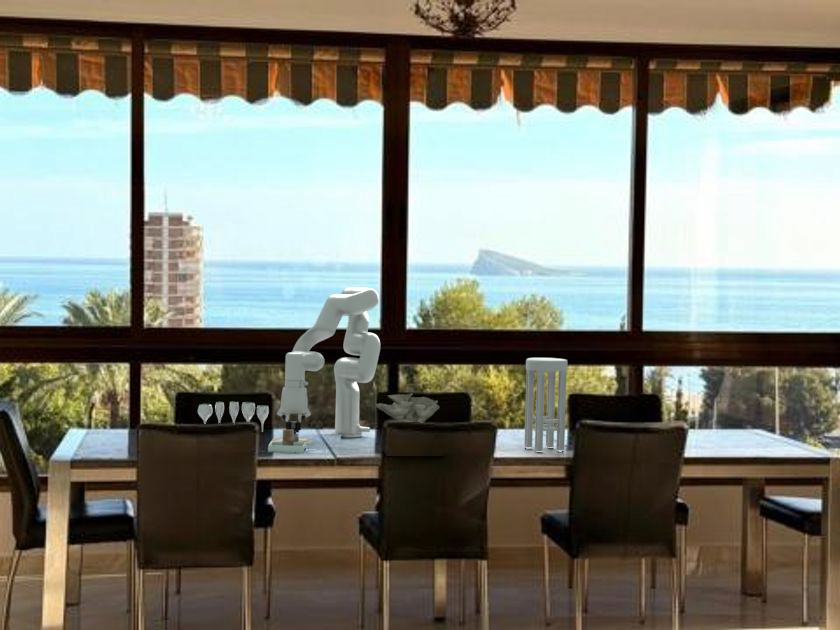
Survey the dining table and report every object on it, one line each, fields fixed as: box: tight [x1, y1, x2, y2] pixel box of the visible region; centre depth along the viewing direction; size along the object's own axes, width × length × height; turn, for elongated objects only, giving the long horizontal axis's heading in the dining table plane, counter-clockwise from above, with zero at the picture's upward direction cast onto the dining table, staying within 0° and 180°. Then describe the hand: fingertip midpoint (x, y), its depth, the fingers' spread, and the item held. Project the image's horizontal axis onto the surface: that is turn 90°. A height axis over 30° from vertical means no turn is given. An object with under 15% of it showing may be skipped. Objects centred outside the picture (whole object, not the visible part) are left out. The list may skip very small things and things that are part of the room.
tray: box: [267, 440, 307, 454], centre depth 457 cm, size 13×10×2 cm
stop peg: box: [282, 428, 294, 446], centre depth 457 cm, size 4×4×7 cm
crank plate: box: [268, 437, 313, 446], centre depth 471 cm, size 15×15×2 cm
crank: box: [290, 420, 300, 442], centre depth 472 cm, size 11×4×6 cm, turn 6°
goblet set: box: [197, 401, 270, 433], centre depth 494 cm, size 28×6×13 cm, turn 93°
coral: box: [375, 392, 441, 424], centre depth 460 cm, size 25×20×22 cm
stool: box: [524, 357, 568, 452], centre depth 473 cm, size 16×16×35 cm
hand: (293, 431), depth 477 cm, fingers closed on crank, 2 cm apart
